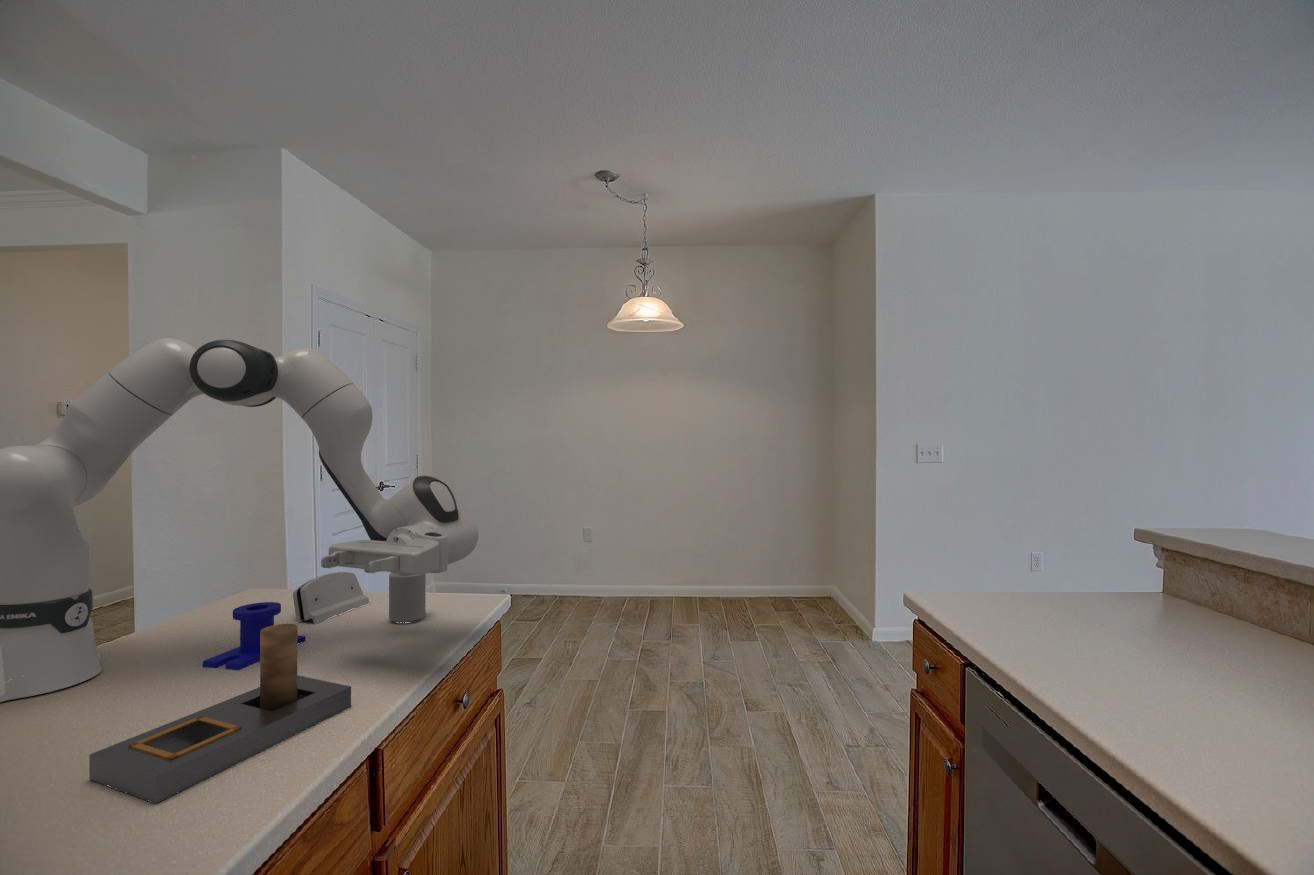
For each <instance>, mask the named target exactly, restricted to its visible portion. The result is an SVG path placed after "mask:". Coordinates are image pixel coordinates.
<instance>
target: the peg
mask: <svg viewBox="0 0 1314 875" xmlns="http://www.w3.org/2000/svg"><path fill="white" fill-rule="evenodd" d="M297 635H298V625H297V624H296V623H280V624H279V623H278V624H274V625H273V626H269V627H266V628H264V629H262V630H261V631H260V661H259V664H260V665H259V687H260V709H264V710H268V711H272V712H273V711H275V710H278V709H280V708H282V707H284V706H287V705H289V704H291V703H293V702H296V701H297V675H298V645H297Z"/></svg>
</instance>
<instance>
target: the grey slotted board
mask: <svg viewBox="0 0 1314 875" xmlns="http://www.w3.org/2000/svg"><path fill="white" fill-rule="evenodd" d="M351 707H352V686H350V685H347V684H346V685H345V684H341V683H337V682H332V681H331V682H330V681H326V680H321V679H317V678H312V677H307V676H304V675H303V676H302V675H298V674H297V701H296V702H293V703H291V704H289V705H287V706H284V707H282V708H280V709H278V710H275V711H273V712H272V711H268V710H264V709H260V686H259V687H256V688H254V689H251V690H249V691H246V692H244V693H241V694H238V695H236V696H233V697H231V698H228V699H226V700H222V701H221V702H218V703H215V704H212V705H210V706H208V707H207V708H203V709H201V710H198V711H196V712H193V713H191V714H188V715H186V716H182V717H181V718H178V719H176V720H172V721H170V722H167V723H165V724H163V725H160V726H158V727H156V728H153V729H150V730H148V731H145V732H142V733H140V734H138V735H135V736H133V737H130V738H128V739H125V740H122V741H121V742H118V743H115V744H113V745H111V746H108V747H106V748H103V749H100V750H98V751H95V752H93V753H92V752H91V753H90V754H89V755H88V756H89V760H88V761H89V764H88V765H89V771H88V773H89V777H88V779H90V780H89V781H91V780H93V781H92V782H94V781H96V782H99V783H102V784H104V785H103V786H105V785H109V786H111V787H113V788H116V789H118V790H120V791H119V792H121V791H122V792H121V793H124V792H127V793H129V794H128V795H130V794H131V795H130V796H132V795H134V796H133V797H135V796H137V797H136V798H138V797H140V798H139V799H141V798H142V799H141V800H143V799H146V800H149V801H151V802H150V803H152V802H153V803H152V804H155V805H157V804H159V803H160V801H161V802H162V800H163V799H165V800H167V799H169V798H171V797H173V796H174V794H175V795H176V793H177V792H179V793H181V792H182V791H184V790H186V789H189V788H191V787H193V786H195V785H196V784H199V783H201V782H203V781H205V780H207V779H208V778H211V777H213V776H214V775H217V774H218V773H221V772H222V771H225V770H226V769H227V770H228V768H231V767H233V766H235V765H237V764H239V763H241V762H243V761H245V760H246V759H248V758H251V757H252V756H255V755H257V754H259V753H260V752H262V751H264V750H266V749H269V748H270V747H273V746H275V745H277V744H279V743H280V742H282V741H284V740H285V741H286V739H288V738H290V737H292V736H295V735H297V734H299V733H300V732H302V731H304V730H307V729H309V728H310V727H312V726H314V725H316V724H318V723H321V722H323V721H325V720H326V719H329V718H330V717H332V716H335V715H336V714H339V713H341V712H342V711H344V710H347V709H348V708H351ZM96 782H95V783H96ZM99 783H98V784H99ZM102 784H101V785H102ZM192 785H193V786H192ZM190 786H191V787H190ZM188 787H189V788H188ZM113 788H112V789H113ZM116 789H115V790H116ZM118 790H117V791H118ZM127 793H126V794H127ZM177 794H178V793H177ZM172 795H173V796H172ZM170 796H171V797H170ZM146 800H145V801H146ZM149 801H148V802H149ZM163 801H164V800H163ZM158 802H159V803H158ZM156 803H157V804H156Z"/></svg>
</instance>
